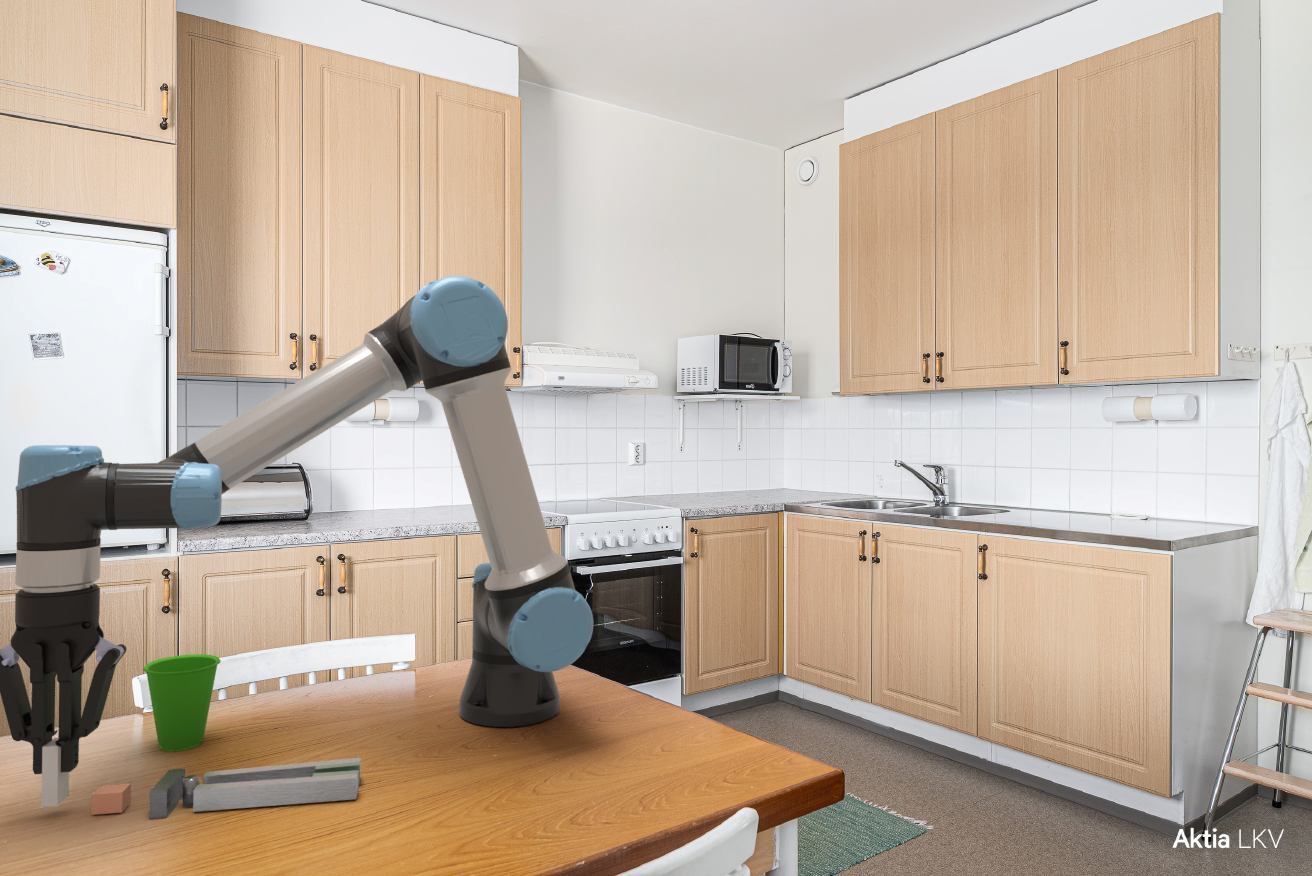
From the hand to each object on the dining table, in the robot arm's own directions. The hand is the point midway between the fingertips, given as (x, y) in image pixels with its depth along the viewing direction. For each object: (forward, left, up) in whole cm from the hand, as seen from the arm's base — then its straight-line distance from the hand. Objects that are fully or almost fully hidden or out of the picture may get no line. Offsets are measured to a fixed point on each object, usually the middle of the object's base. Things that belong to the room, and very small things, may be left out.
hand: (55, 801), depth 90 cm
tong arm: (-23, -2, -1) cm, 23 cm away
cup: (-6, -20, -2) cm, 21 cm away
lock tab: (-5, 0, -1) cm, 6 cm away
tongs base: (-21, 0, -2) cm, 21 cm away
